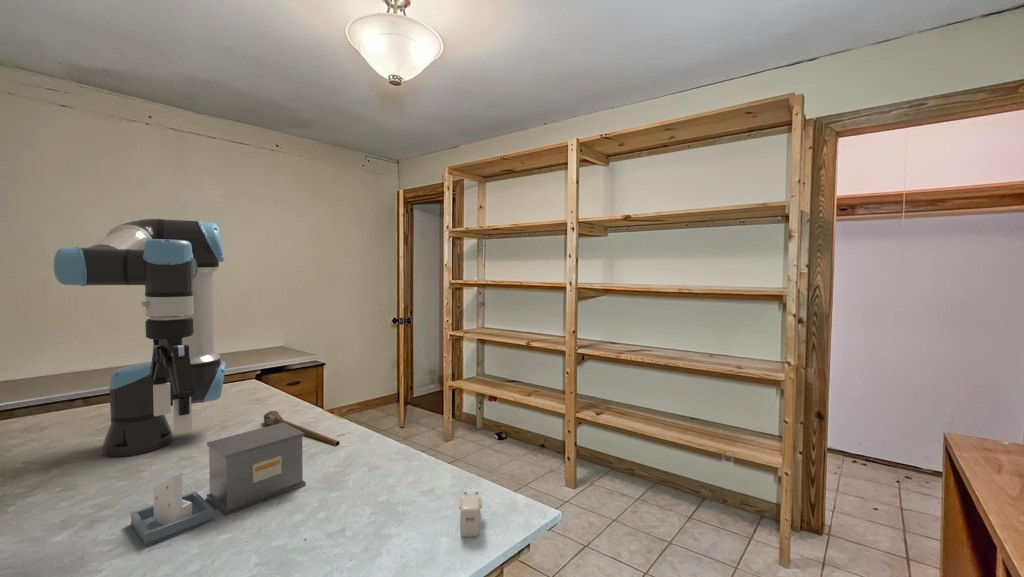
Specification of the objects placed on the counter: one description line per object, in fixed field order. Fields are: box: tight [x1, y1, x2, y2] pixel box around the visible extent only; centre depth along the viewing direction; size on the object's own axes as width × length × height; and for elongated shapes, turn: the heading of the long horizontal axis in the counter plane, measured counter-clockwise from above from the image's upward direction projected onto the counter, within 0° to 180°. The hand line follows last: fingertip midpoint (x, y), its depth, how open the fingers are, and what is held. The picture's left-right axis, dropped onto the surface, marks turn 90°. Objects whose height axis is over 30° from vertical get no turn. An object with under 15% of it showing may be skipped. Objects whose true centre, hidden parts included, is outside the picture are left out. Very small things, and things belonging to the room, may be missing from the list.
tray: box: [130, 491, 215, 547], centre depth 89 cm, size 11×11×2 cm
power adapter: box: [458, 491, 483, 538], centre depth 91 cm, size 11×5×6 cm, turn 4°
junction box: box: [206, 422, 307, 517], centre depth 101 cm, size 11×17×13 cm, turn 142°
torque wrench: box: [263, 410, 341, 447], centre depth 136 cm, size 5×35×5 cm
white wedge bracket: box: [152, 472, 192, 525], centre depth 88 cm, size 4×10×9 cm, turn 70°
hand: (172, 422), depth 88 cm, fingers open, 13 cm apart
